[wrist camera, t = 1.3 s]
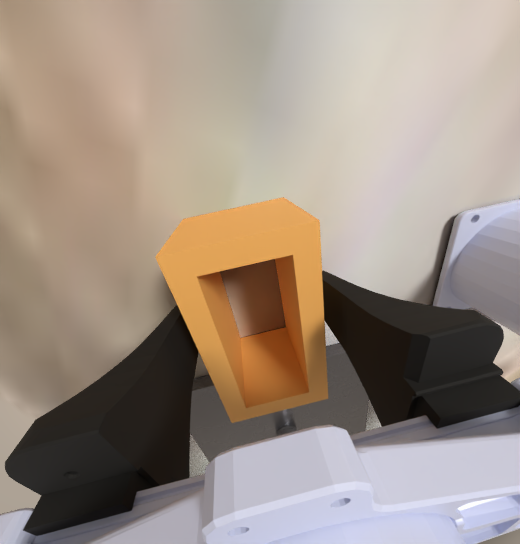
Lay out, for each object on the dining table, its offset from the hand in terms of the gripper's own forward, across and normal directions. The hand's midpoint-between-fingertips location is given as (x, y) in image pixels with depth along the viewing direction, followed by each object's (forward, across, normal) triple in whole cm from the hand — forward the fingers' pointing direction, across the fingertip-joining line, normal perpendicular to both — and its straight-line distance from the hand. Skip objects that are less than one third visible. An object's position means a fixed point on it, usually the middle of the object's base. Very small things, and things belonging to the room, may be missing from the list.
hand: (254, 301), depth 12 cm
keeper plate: (+2, 0, +14) cm, 15 cm away
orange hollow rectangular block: (+2, 0, 0) cm, 2 cm away
